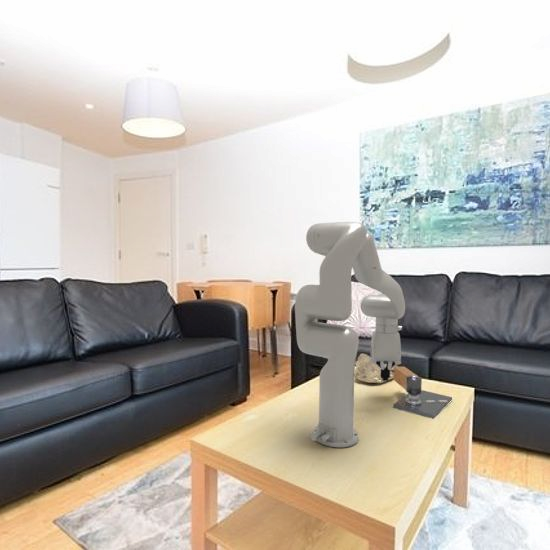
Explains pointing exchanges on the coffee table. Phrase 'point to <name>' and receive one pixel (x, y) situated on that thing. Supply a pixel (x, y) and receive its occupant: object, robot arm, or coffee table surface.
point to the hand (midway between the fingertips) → (385, 379)
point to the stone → (369, 370)
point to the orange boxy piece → (408, 380)
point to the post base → (423, 403)
